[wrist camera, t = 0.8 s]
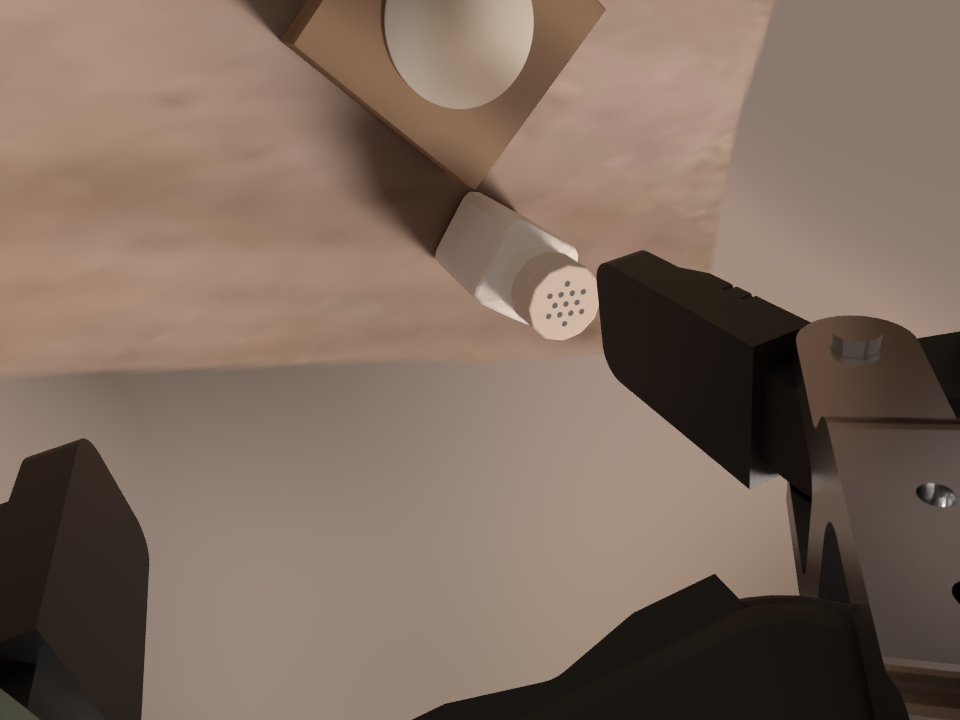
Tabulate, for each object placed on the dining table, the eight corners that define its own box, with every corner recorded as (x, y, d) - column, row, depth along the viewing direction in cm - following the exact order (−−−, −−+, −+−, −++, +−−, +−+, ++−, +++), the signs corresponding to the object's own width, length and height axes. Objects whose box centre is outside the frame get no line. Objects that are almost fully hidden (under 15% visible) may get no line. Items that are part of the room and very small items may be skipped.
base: (409, -159, 27) (444, -183, 23) (561, 9, 32) (608, 9, 28) (279, 40, 28) (294, 44, 25) (444, 172, 33) (476, 191, 29)
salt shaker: (427, 257, 34) (501, 330, 26) (464, 184, 34) (553, 238, 26) (490, 286, 36) (577, 363, 29) (528, 218, 36) (628, 278, 28)
